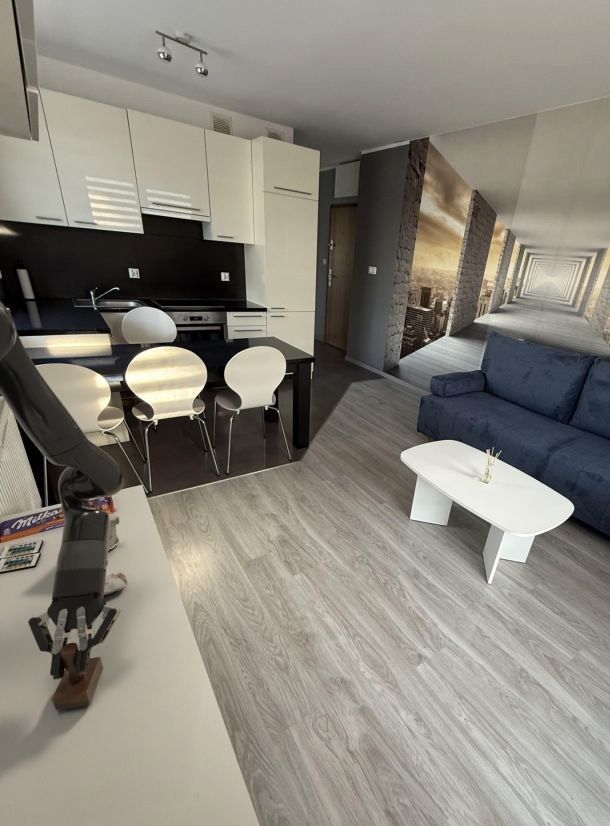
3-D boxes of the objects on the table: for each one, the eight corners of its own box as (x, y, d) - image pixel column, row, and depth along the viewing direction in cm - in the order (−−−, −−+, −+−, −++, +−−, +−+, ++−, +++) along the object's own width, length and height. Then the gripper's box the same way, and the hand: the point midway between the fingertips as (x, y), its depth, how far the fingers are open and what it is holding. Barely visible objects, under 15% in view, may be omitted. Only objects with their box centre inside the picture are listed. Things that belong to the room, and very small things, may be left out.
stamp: (55, 710, 66) (41, 670, 62) (72, 672, 72) (60, 633, 68) (90, 705, 67) (78, 665, 63) (103, 667, 73) (93, 629, 69)
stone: (80, 609, 86) (78, 600, 84) (76, 588, 91) (73, 579, 89) (130, 591, 91) (128, 582, 90) (123, 572, 96) (122, 563, 95)
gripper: (24, 571, 66) (5, 689, 60) (118, 563, 69) (108, 673, 64) (46, 573, 73) (31, 679, 67) (131, 566, 76) (123, 666, 71)
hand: (69, 676), depth 65 cm, fingers closed on stamp, 2 cm apart
